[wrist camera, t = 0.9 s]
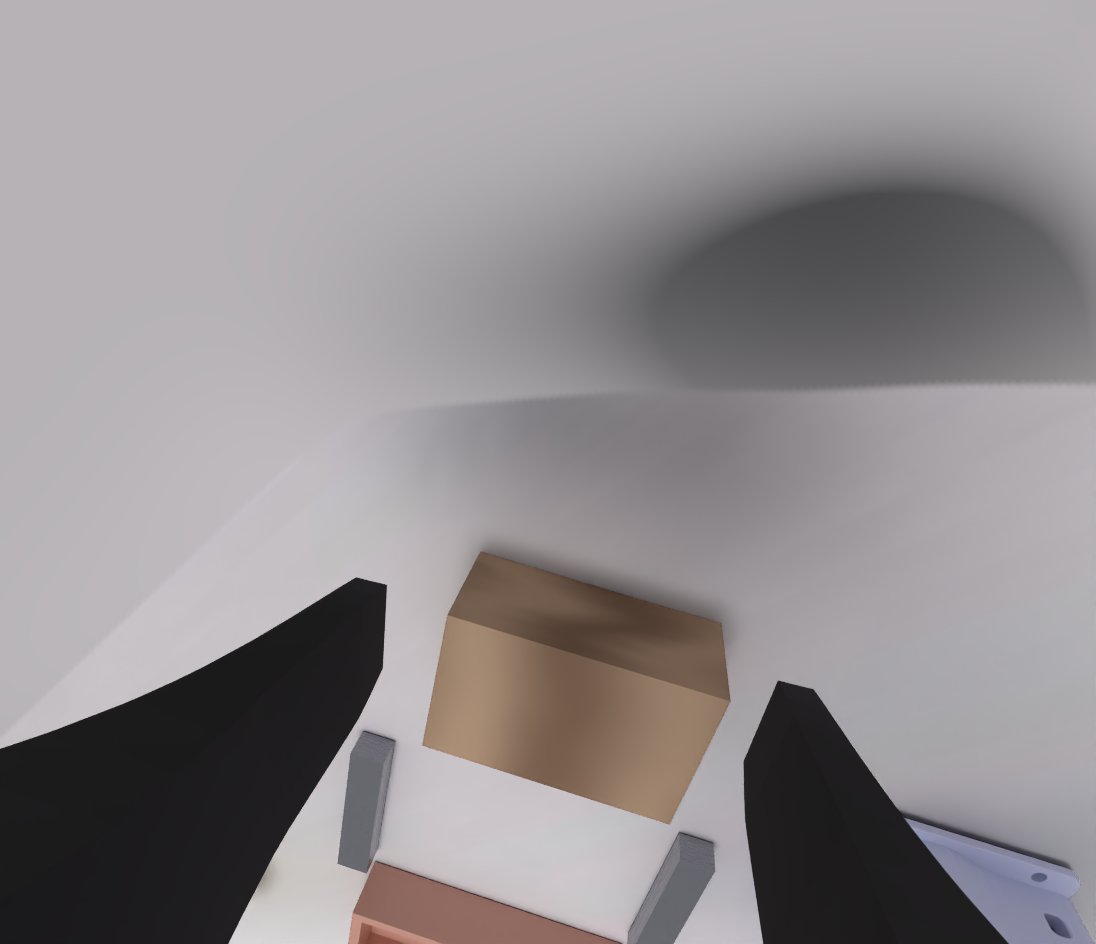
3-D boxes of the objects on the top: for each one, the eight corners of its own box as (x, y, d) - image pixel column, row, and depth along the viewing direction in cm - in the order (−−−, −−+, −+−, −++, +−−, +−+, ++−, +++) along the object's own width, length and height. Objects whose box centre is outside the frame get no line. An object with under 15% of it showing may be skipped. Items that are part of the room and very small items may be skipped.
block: (720, 619, 22) (730, 701, 19) (669, 733, 25) (669, 824, 21) (482, 548, 23) (447, 615, 19) (456, 667, 26) (422, 745, 22)
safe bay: (713, 843, 27) (715, 870, 26) (657, 943, 30) (657, 971, 29) (363, 731, 28) (350, 752, 27) (349, 840, 31) (337, 863, 30)
